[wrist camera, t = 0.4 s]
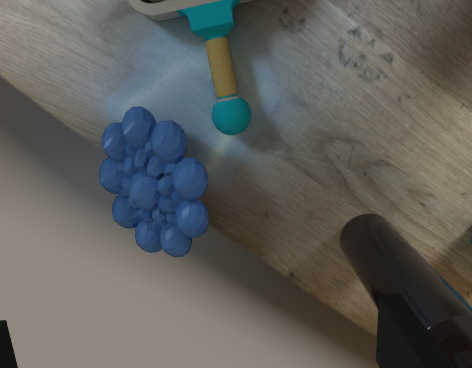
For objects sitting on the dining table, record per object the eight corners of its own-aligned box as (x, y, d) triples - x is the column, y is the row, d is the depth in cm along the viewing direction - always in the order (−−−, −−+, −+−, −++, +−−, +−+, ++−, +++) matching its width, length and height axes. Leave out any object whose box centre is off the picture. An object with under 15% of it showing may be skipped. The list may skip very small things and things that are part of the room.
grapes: (115, 141, 41) (185, 245, 42) (55, 166, 36) (136, 285, 37) (185, 72, 34) (270, 200, 34) (123, 91, 28) (224, 242, 29)
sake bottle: (339, 215, 40) (504, 443, 17) (393, 211, 40) (633, 431, 17) (339, 265, 41) (491, 536, 18) (392, 260, 41) (609, 525, 18)
